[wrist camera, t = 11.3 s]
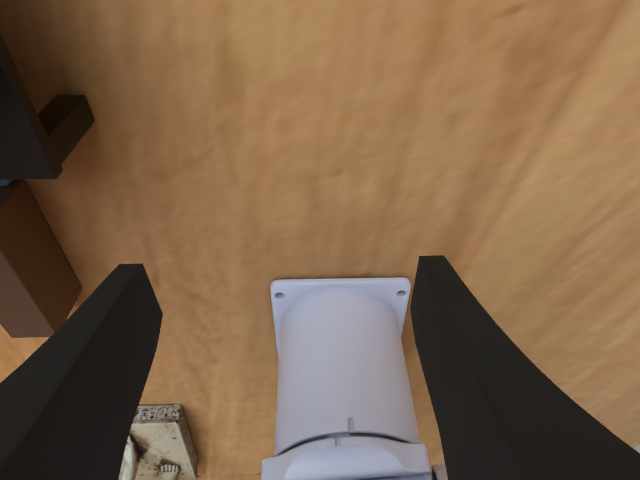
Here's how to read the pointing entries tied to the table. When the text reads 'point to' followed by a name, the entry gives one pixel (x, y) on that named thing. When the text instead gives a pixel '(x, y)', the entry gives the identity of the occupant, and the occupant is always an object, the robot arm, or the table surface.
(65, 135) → the pot
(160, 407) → the statue
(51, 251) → the spatula
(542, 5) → the table surface
